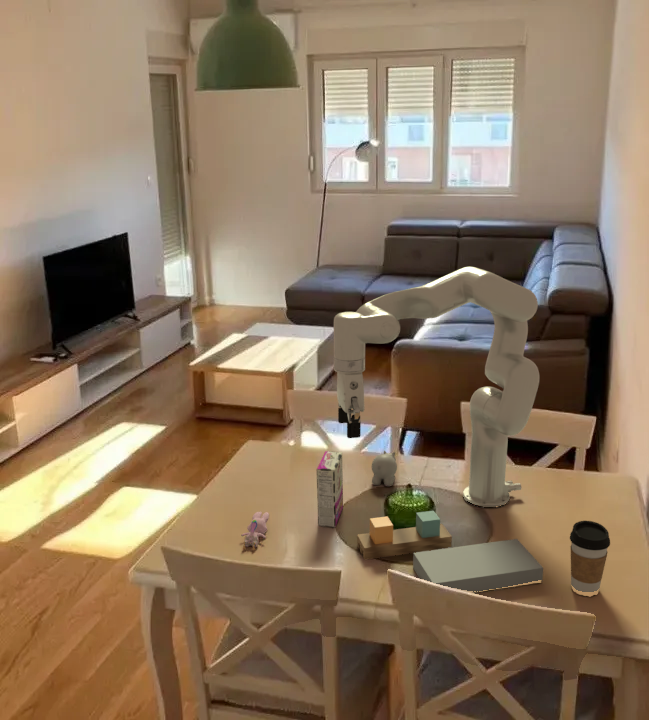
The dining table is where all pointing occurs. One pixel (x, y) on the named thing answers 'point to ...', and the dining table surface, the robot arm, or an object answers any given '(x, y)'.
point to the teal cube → (428, 524)
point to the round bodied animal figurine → (384, 469)
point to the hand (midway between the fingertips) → (349, 429)
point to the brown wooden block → (403, 543)
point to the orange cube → (381, 530)
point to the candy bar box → (330, 489)
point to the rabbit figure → (256, 529)
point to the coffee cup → (588, 555)
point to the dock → (479, 566)
